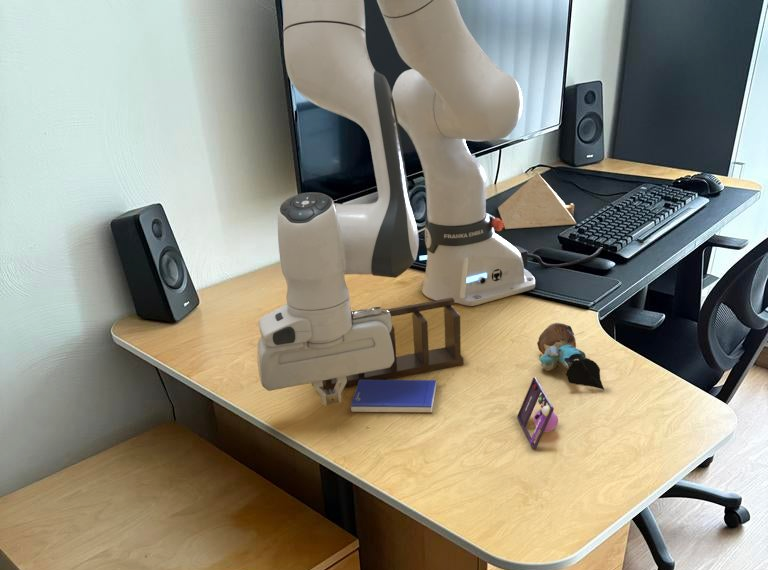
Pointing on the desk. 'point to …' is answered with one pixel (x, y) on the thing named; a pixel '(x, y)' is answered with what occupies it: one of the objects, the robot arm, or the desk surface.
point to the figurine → (567, 356)
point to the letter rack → (417, 346)
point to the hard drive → (394, 396)
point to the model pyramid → (535, 207)
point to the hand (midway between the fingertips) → (331, 402)
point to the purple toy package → (543, 418)
